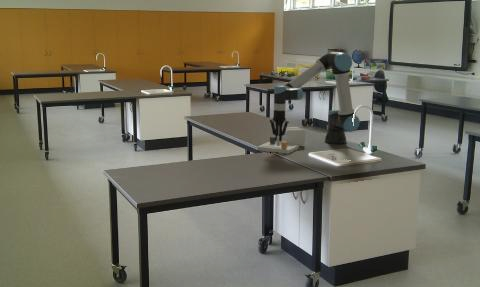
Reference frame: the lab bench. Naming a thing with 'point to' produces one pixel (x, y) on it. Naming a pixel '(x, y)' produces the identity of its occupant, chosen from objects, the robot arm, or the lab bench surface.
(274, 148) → the mixing board
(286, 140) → the cable organizer
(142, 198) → the lab bench surface
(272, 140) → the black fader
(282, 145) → the orange fader
